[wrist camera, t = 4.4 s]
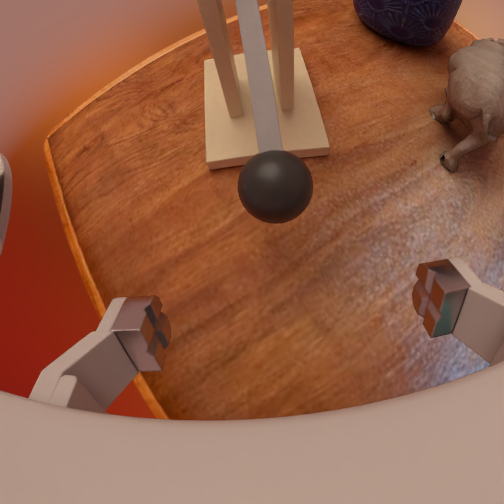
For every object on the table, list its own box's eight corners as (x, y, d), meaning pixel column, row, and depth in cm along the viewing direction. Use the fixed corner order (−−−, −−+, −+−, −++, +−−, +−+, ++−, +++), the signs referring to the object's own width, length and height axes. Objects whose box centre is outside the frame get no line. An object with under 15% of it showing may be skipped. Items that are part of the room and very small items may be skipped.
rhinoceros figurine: (379, 105, 19) (492, -17, 8) (419, 110, 28) (496, 32, 16) (446, 185, 18) (574, 68, 7) (463, 164, 27) (545, 88, 15)
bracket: (328, 155, 22) (359, -24, 7) (209, 170, 22) (131, 5, 8) (299, 56, 25) (296, -78, 10) (206, 68, 25) (165, -60, 11)
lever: (310, 212, 16) (322, 225, 13) (245, 220, 17) (240, 235, 13) (268, -34, 12) (268, -67, 9) (210, -27, 12) (200, -58, 9)
